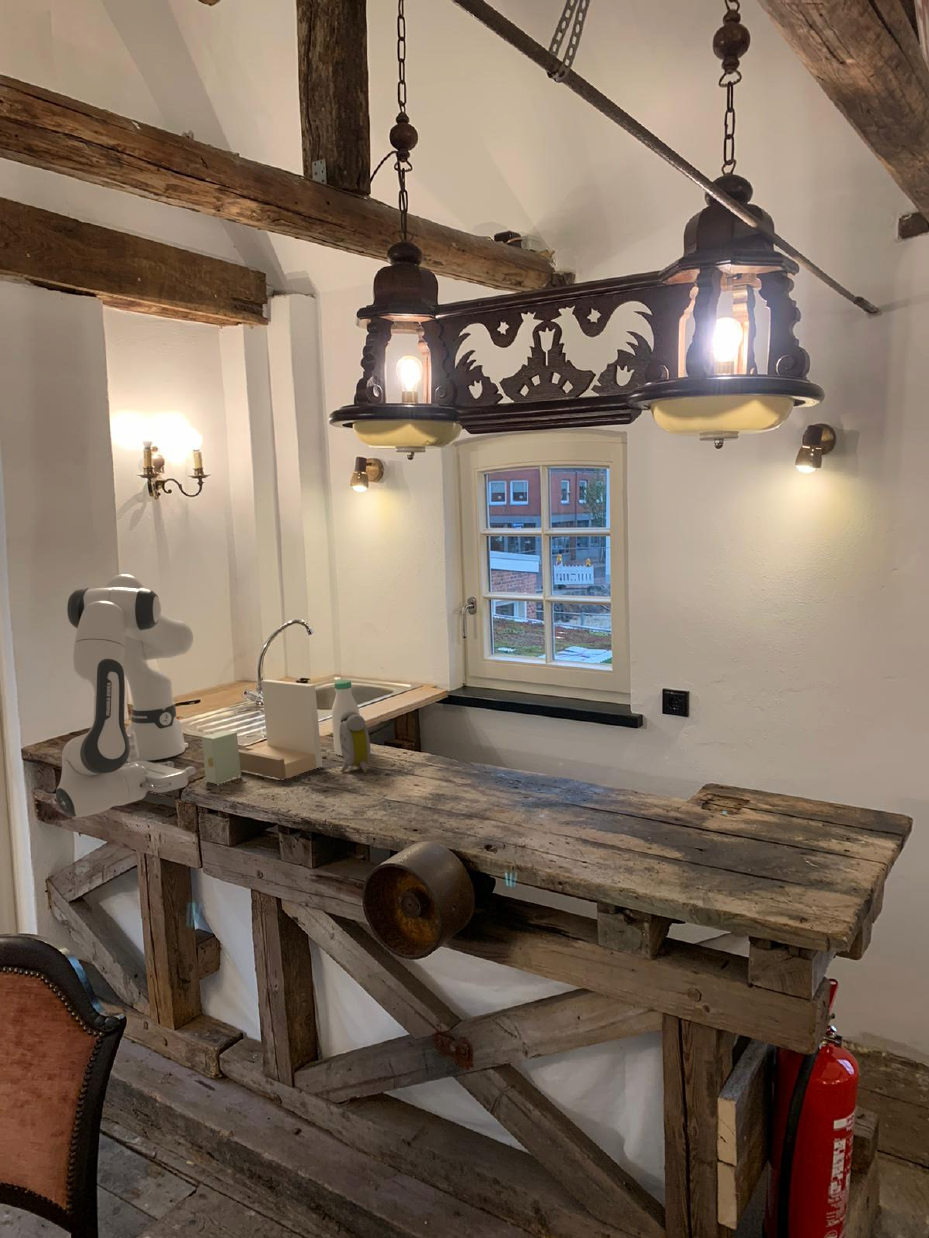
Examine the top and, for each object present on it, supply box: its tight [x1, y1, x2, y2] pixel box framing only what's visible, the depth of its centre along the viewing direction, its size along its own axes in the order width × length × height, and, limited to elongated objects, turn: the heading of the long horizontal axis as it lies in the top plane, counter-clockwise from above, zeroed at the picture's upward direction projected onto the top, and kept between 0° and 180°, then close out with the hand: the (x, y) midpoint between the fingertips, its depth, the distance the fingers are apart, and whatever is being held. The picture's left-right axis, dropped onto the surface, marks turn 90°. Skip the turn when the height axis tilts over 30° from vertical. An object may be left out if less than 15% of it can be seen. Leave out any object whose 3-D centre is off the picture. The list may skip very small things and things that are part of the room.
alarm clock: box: [340, 710, 371, 774], centre depth 221 cm, size 12×7×15 cm, turn 22°
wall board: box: [238, 679, 323, 780], centre depth 227 cm, size 20×14×22 cm
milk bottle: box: [331, 680, 361, 757], centre depth 238 cm, size 8×8×20 cm
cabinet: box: [201, 729, 242, 784], centre depth 221 cm, size 5×8×12 cm, turn 140°
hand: (183, 767), depth 213 cm, fingers open, 8 cm apart
